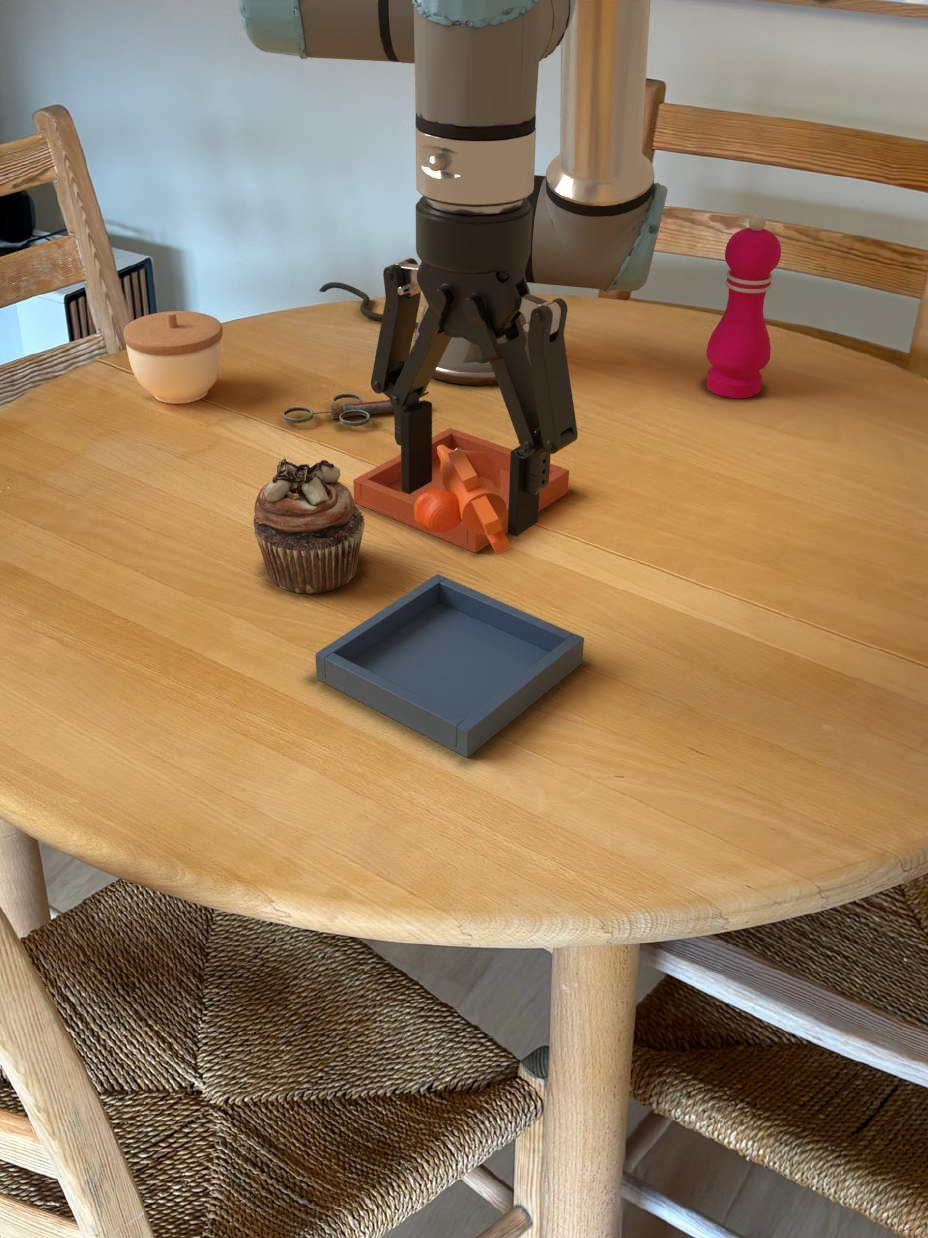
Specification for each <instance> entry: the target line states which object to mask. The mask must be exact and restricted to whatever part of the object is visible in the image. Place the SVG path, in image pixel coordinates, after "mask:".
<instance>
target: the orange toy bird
mask: <svg viewBox="0 0 928 1238" xmlns="http://www.w3.org/2000/svg"><path fill="white" fill-rule="evenodd" d="M437 454H438V456H439V458H440V460H441V468H440V469H441V475H442V482H443V486H444V487H445V489H446V490H445V489H439V488H432V489H430V490H428V491H427V492H425V493H423V494H422V495H420V496H419V497H418V498H417V500H416V502H415V505H414V519H415V520H416V521H417V522H418V523H419V524H420V525H421V526H422V527H423V528H424V529H426V530H429V531H435V532H447V531H451V530H453V529H455V528H456V527H458V526H459V525H460V523H461V522H463V524H464V526H465V527H466V528H467V529H468V530H469V531H471V532H473V533H477V534H483V535H486V536H487V538H488V539H489V541H490V545H491V547H492V548H493V550H494V552H495V554H496V555H497V554H500V553H503V552H505V551H507V550H510V549H511V545H510V542H509V539H508V536H507V534H506V533H504V531H503V529H502V526H501V524H502V523H503V521H504V520H505V517H506V514H507V507H506V504H505V502H504V500H503V498H502V496H501V495H500V493H499V490H500V488H501V480H500V468H499V466H498V465H497V463H496V462H494V461H493V459H492V458H491V456H489V455H488V454H486V453H485V452H481V451H471V450H468V451H467V450H462V448H457V449H455V450H451V449H449V448H447V447H446V446H444V445H439V446H438V447H437Z"/></svg>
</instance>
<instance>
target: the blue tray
mask: <svg viewBox="0 0 928 1238" xmlns="http://www.w3.org/2000/svg"><path fill="white" fill-rule="evenodd" d="M584 645H585V637H583V636H581V635H579V634H577V633H574V632H571V631H570V630H567V629H565V628H562V627H560V626H557V625H555V624H553V623H551V622H549V621H547V620H545V619H542V618H540V617H537V616H536V615H532V614H530V613H528V612H526V611H523V610H521V609H519V608H517V607H514V606H512V605H510V604H508V603H505V602H503V601H501V600H498V599H496V598H493V597H491V596H489V595H487V594H485V593H482V592H480V591H478V590H476V589H473V588H470V587H468V586H466V585H463V584H461V583H459V582H457V581H454V580H452V579H450V578H448V577H446V576H444V575H441V574H439V573H436V574H435V575H434V576H432V577H430V578H429V579H427V580H426V581H424V582H422V583H421V584H419V585H418V586H417V587H415V588H413V589H412V590H410V591H409V592H407V593H406V594H404V595H402V596H401V597H400V598H398V599H396V600H395V601H393V602H392V603H390V604H389V605H387V606H386V607H385V608H383V609H381V610H380V611H378V612H377V613H375V614H373V615H372V616H370V617H369V618H367V619H366V620H364V621H363V622H361V623H360V624H359V625H357V626H355V627H353V628H352V629H351V630H349V631H348V632H346V633H344V634H343V635H341V636H340V637H339V638H337V639H335V640H334V641H332V642H331V643H329V644H328V645H326V646H324V647H323V648H322V649H320V650H318V651H317V652H315V654H314V658H315V670H316V680H318V681H319V682H321V683H324V684H326V685H327V686H329V687H330V688H333V689H335V690H336V691H339V692H341V693H342V694H344V695H347V696H348V697H350V698H352V699H354V700H356V701H358V702H360V703H361V704H364V705H366V706H367V707H369V708H371V709H372V710H375V711H377V712H379V713H381V714H383V716H387V717H388V718H390V719H392V720H394V721H396V722H398V723H400V724H402V725H404V726H405V727H406V728H407V727H408V728H409V729H412V730H413V731H415V732H417V733H419V734H420V735H422V736H425V737H427V738H428V739H431V740H433V742H436V743H438V744H440V745H442V746H444V747H446V748H447V749H449V750H451V751H453V752H455V753H457V754H459V755H461V756H462V757H464V758H466V759H467V758H470V757H471V756H472V754H474V753H475V752H476V751H478V750H479V749H480V748H481V747H482V746H484V745H485V744H486V743H487V742H489V740H491V739H492V738H493V737H494V736H495V735H497V734H498V733H499V732H500V731H502V730H503V729H504V728H505V727H506V726H508V725H509V724H510V723H511V722H512V721H514V720H515V719H516V718H517V717H519V716H520V715H521V714H523V712H525V711H526V710H527V709H529V708H530V707H531V706H532V705H533V704H534V703H535V702H537V701H538V700H539V699H540V698H542V697H543V696H544V695H545V694H547V693H548V692H549V691H550V690H551V689H553V687H555V686H556V685H558V684H559V683H560V682H561V681H562V680H564V678H566V677H567V676H568V675H570V674H571V673H572V672H573V671H574V670H575V669H577V668H578V667H579V666H580V665H582V664H583V658H584Z"/></svg>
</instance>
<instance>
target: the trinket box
mask: <svg viewBox="0 0 928 1238" xmlns="http://www.w3.org/2000/svg"><path fill="white" fill-rule="evenodd" d="M122 334H123V340H124V343H125V347H126V354H127V358H128V361H129V364H130V368H131V370H132V373H133V375H134V377H135V379H136V380H137V382H138V383H139V384H140V385H141V387H142V388H143V389H144V390H145V391H147V392H148V393H150V394H151V395H152V396H153V398H154V399H155V400H157V401H158V402H160V403H165V404H170V405H171V404H172V405H178V404H179V405H180V404H182V405H183V404H189V403H194V402H197V401H199V400H201V399H203V398H205V397H206V396H207V395H208V393H209V390H210V389H211V388H212V387H213V386H214V385H215V383H216V382H217V381H218V378H219V376H220V373H221V371H222V367H223V361H224V348H223V347H224V345H223V344H224V343H223V325H222V323H221V321H220V320H218V319H217V318H216V317H214V316H212V315H209V314H206V313H202V312H197V311H189V310H188V311H187V310H173V311H172V310H171V311H162V312H154V313H150V314H147V315H143V316H141V317H138V318H136V319H133V320H132V321H130V322H129V323H127V325H126V326H125V327H124V329H123V332H122Z"/></svg>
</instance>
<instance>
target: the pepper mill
mask: <svg viewBox="0 0 928 1238" xmlns="http://www.w3.org/2000/svg"><path fill="white" fill-rule="evenodd" d="M766 221H767V220H766V218H765V217H764V216H763V215H761V214H754V215H752V216H751V217H750V219H749V221H748V226H749V227H745V228H742V229H740V230H738V231H736V232H735V233H734V234H732V235H731V236H730V238H729V239H728V241H727V243H726V247H725V250H724V260H725V263H726V264H727V266H728V267H729V270H727V272H726V280H725V286H726V287H727V288H728V298H727V302H726V303H727V304H726V307H725V310H724V313H723V315H722V317H721V319H720V320H719V322H718V323H717V325H716V326H715V328H714V330H713V331H712V333H711V335H710V337H709V339H708V342H707V346H706V350H705V354H706V355H705V356H706V358H707V361H708V362H709V364H710V365H711V366H712V367H710V368H709V369H708V370H707V376H706V384H705V385H706V389H707V390H708V391H710V392H711V393H713V394H715V395H717V396H720V397H723V398H731V399H748V398H752V397H755V396H757V395H758V394H759V393H760V391H761V390H762V382H763V375H762V372H761V371H762V370H763V369H764V368H765V367H766V366H767V365H768V364H769V362H770V359H771V353H772V352H771V350H772V345H771V340H770V339H771V338H770V336H769V332H768V328H767V324H766V321H765V316H764V307H765V306H764V304H765V298H766V293H767V292H769V291H770V290H771V288H772V281H773V275H772V272H773V270H775V269H776V268H777V267H778V265H779V264H780V261H781V258H782V257H781V256H782V247H781V243H780V240H779V239H778V237H777V236H776V235H775V234H774V233H773V232H771V231H770V230H768V229H765V228H766V224H767V223H766Z"/></svg>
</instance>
